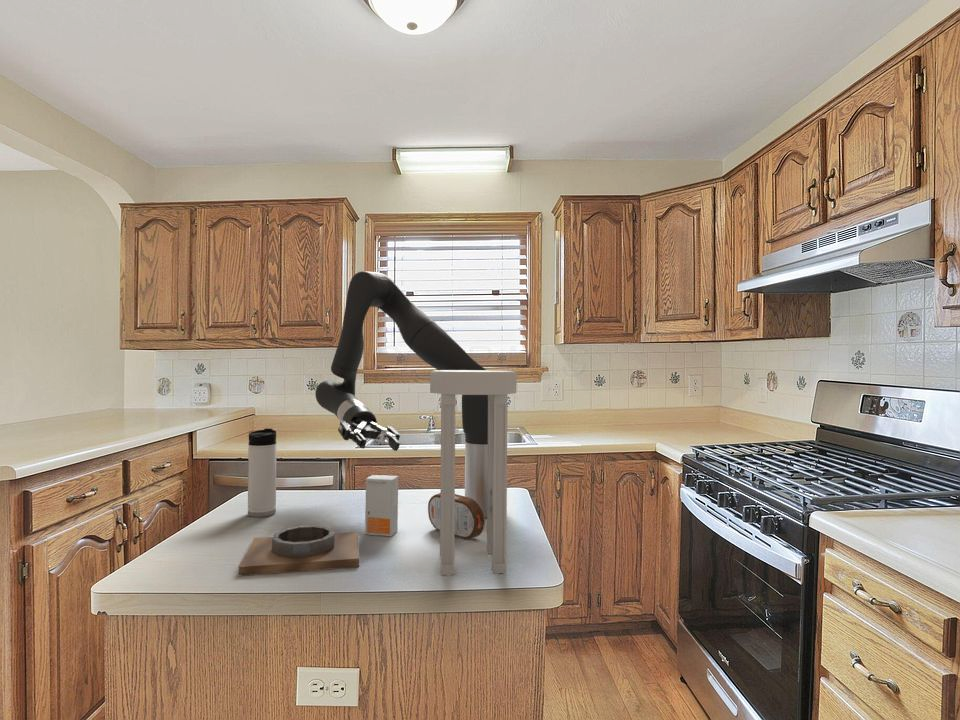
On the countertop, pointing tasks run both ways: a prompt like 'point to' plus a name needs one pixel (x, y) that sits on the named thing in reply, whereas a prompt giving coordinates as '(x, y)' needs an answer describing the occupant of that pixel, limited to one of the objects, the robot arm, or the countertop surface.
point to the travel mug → (262, 473)
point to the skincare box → (381, 505)
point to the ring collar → (289, 548)
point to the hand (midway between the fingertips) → (381, 446)
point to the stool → (497, 391)
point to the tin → (459, 516)
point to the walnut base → (267, 562)
